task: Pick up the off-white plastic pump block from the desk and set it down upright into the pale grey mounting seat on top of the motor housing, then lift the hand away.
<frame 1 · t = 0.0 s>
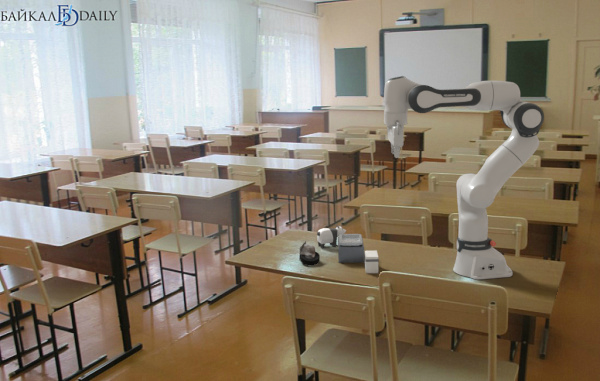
hand: (395, 155, 209), 48 cm above the table, tool pointing down, fingers open, 8 cm apart
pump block: (371, 269, 223), on the table
giant panda: (330, 246, 256), on the table
black based translucent ornament: (310, 261, 236), on the table
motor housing: (350, 256, 239), on the table
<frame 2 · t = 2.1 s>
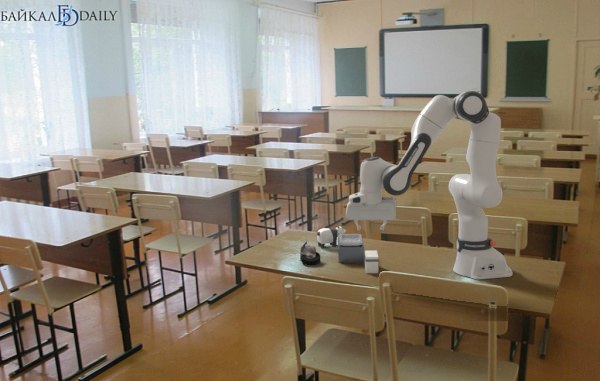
hand: (370, 230, 220), 17 cm above the table, tool pointing down, fingers open, 8 cm apart
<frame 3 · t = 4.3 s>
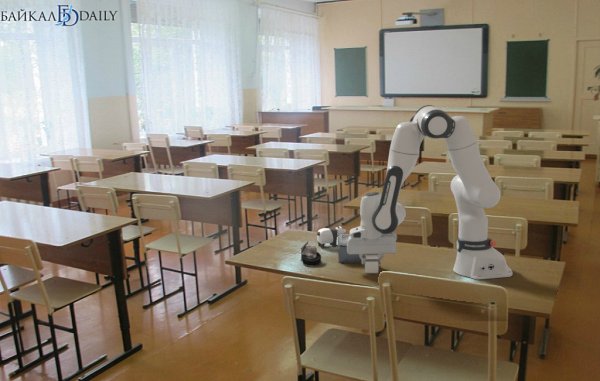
hand: (371, 263, 223), 3 cm above the table, tool pointing down, fingers closed on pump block, 5 cm apart
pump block: (371, 269, 223), on the table, touching gripper
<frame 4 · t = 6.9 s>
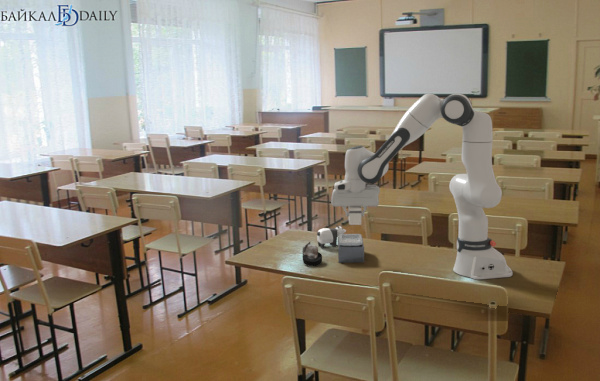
hand: (354, 216, 230), 20 cm above the table, tool pointing down, fingers closed on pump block, 5 cm apart
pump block: (354, 222, 231), point 17 cm above the table, touching gripper
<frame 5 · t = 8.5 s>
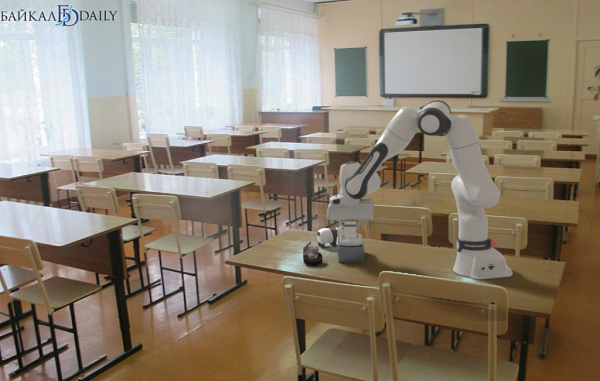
hand: (350, 229, 236), 13 cm above the table, tool pointing down, fingers closed on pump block, 5 cm apart
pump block: (350, 235, 237), point 10 cm above the table, touching gripper
when the fingers open (11 cm above the table, at t = 9.6 s): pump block drops 1 cm, resting on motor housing.
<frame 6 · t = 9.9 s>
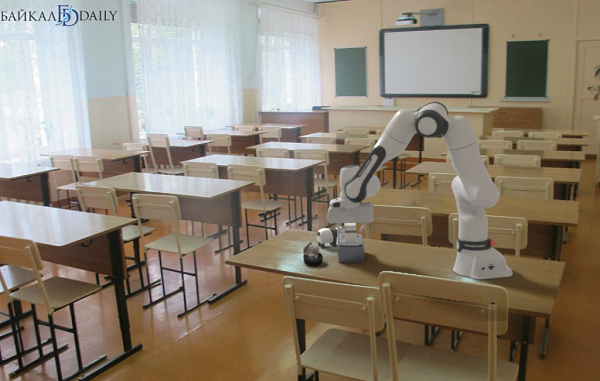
hand: (350, 232, 237), 11 cm above the table, tool pointing down, fingers open, 8 cm apart
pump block: (350, 240, 238), point 7 cm above the table, touching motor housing
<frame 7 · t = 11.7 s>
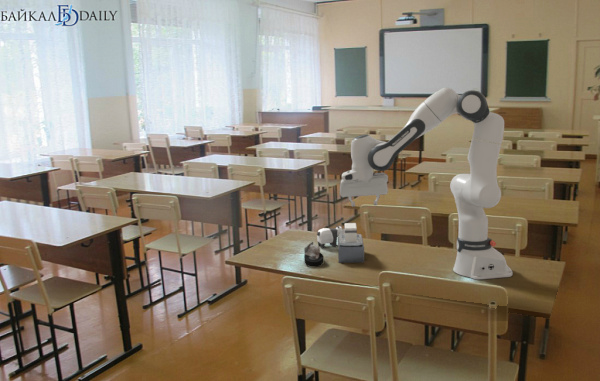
hand: (364, 205, 229), 25 cm above the table, tool pointing down, fingers open, 8 cm apart
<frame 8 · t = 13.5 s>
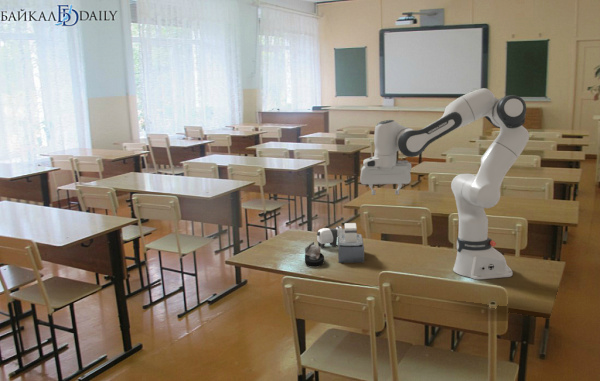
hand: (385, 194, 219), 31 cm above the table, tool pointing down, fingers open, 8 cm apart
at the end: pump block 0.1 cm off-centre on the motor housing, point 7.4 cm above the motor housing's base; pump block tilted 0°; the gripper is holding nothing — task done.
